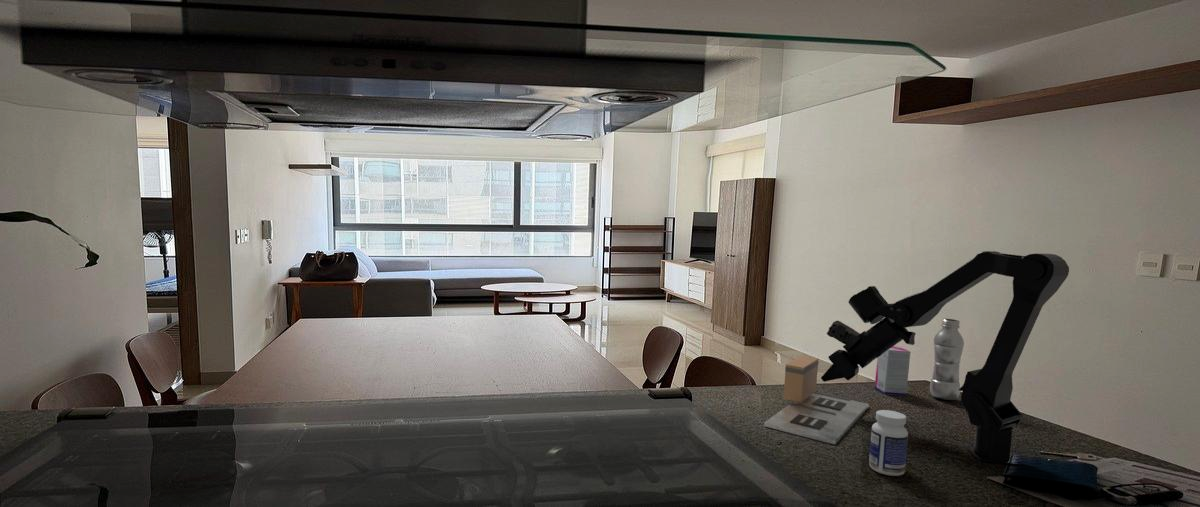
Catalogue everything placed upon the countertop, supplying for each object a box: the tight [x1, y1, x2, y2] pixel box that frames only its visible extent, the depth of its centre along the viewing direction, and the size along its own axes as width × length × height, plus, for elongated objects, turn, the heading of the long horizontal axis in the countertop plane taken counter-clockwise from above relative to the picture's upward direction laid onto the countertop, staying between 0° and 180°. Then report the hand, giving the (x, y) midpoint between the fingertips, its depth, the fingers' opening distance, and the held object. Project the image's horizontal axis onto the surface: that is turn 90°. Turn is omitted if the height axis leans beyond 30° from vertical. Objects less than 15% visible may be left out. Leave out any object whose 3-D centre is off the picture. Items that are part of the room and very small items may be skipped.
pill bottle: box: [868, 409, 909, 477], centre depth 101 cm, size 6×6×10 cm
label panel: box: [763, 391, 870, 446], centre depth 128 cm, size 14×30×1 cm, turn 144°
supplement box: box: [874, 345, 911, 396], centre depth 150 cm, size 6×6×12 cm
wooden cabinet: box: [782, 355, 820, 402], centre depth 138 cm, size 4×12×8 cm, turn 144°
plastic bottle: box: [929, 318, 965, 401], centre depth 145 cm, size 6×7×20 cm
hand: (822, 379), depth 135 cm, fingers closed
